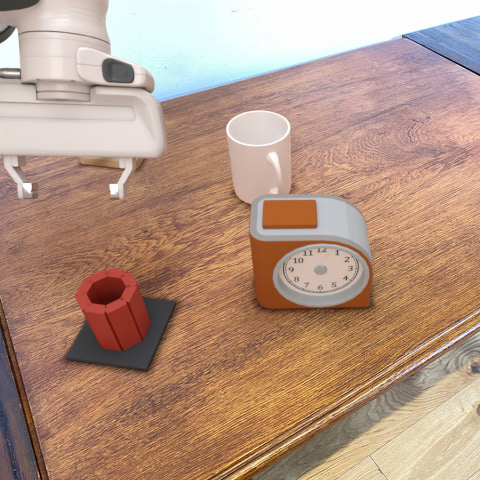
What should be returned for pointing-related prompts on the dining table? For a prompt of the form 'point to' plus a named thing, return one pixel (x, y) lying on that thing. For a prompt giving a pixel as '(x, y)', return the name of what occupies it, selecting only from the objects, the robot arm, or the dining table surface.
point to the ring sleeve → (114, 309)
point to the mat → (132, 357)
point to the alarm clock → (309, 252)
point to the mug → (259, 154)
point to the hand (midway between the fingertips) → (74, 199)
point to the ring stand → (106, 161)
